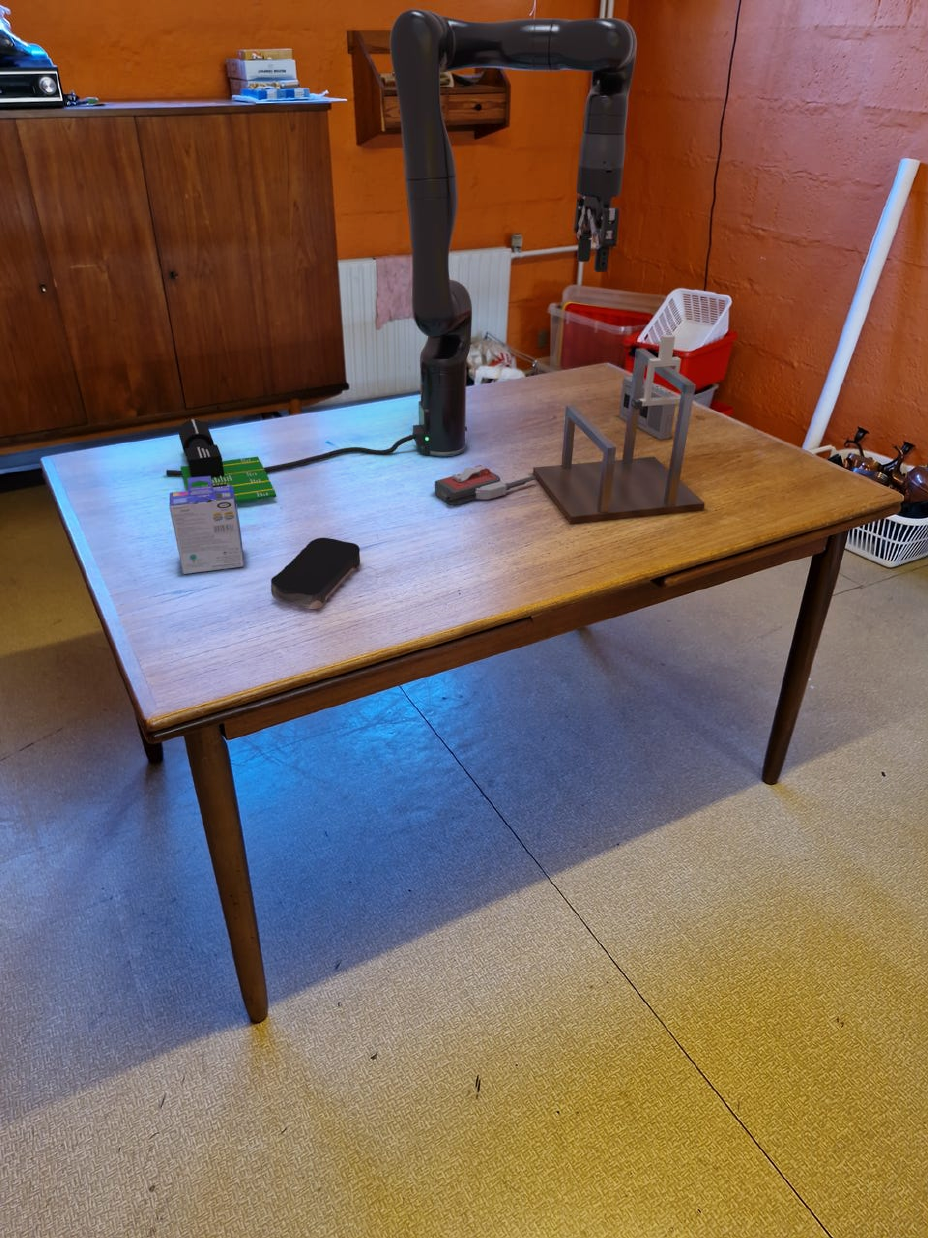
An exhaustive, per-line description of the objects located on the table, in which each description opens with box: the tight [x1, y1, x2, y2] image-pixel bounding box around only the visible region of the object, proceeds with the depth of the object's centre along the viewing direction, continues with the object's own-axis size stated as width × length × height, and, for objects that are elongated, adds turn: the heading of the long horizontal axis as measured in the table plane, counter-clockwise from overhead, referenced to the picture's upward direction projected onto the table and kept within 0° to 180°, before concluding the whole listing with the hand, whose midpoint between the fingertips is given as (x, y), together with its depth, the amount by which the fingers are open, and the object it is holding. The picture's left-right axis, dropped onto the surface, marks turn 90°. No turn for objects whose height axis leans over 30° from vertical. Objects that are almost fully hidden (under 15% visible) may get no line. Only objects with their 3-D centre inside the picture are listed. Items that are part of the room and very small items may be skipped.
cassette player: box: [618, 375, 677, 441], centre depth 188 cm, size 16×3×10 cm, turn 27°
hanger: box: [631, 334, 682, 410], centre depth 152 cm, size 11×2×13 cm, turn 104°
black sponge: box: [270, 537, 361, 610], centre depth 132 cm, size 16×8×4 cm, turn 160°
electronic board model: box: [178, 418, 277, 504], centre depth 164 cm, size 30×7×15 cm
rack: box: [532, 348, 706, 525], centre depth 156 cm, size 26×22×24 cm
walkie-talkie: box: [434, 464, 537, 506], centre depth 161 cm, size 9×4×20 cm
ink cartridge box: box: [168, 476, 245, 575], centre depth 134 cm, size 10×6×14 cm, turn 107°
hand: (591, 266), depth 152 cm, fingers open, 8 cm apart
